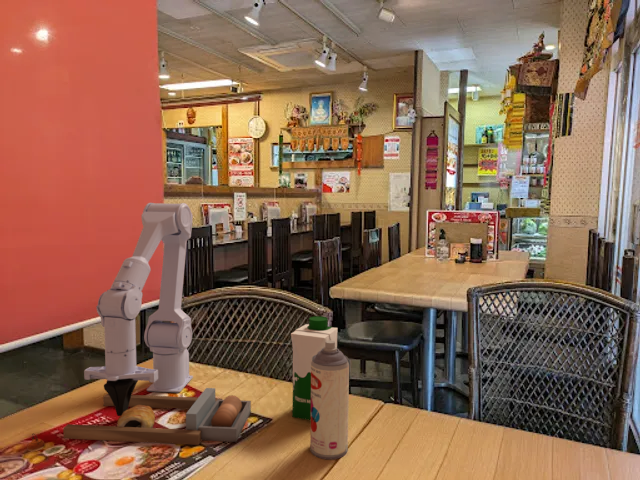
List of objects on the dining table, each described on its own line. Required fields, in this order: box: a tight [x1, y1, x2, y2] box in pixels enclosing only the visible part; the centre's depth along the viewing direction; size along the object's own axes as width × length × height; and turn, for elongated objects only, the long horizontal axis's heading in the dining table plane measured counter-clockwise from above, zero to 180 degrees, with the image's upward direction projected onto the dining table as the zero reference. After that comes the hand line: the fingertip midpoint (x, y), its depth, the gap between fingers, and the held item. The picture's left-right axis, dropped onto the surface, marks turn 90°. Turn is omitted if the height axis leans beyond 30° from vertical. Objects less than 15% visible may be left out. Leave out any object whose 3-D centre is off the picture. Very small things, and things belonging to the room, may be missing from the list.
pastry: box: [117, 405, 156, 428], centre depth 93 cm, size 9×7×4 cm
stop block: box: [185, 387, 216, 430], centre depth 93 cm, size 12×2×5 cm, turn 176°
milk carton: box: [290, 315, 338, 421], centre depth 98 cm, size 9×9×20 cm
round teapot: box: [26, 432, 46, 452], centre depth 84 cm, size 3×3×3 cm
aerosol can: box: [309, 340, 350, 460], centre depth 84 cm, size 7×7×20 cm
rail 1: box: [102, 393, 223, 410], centre depth 101 cm, size 2×26×2 cm, turn 86°
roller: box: [211, 395, 242, 427], centre depth 92 cm, size 8×4×4 cm, turn 176°
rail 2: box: [62, 423, 202, 446], centre depth 87 cm, size 2×26×2 cm, turn 86°
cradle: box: [198, 399, 252, 443], centre depth 93 cm, size 12×7×2 cm, turn 176°
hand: (122, 413), depth 94 cm, fingers closed
